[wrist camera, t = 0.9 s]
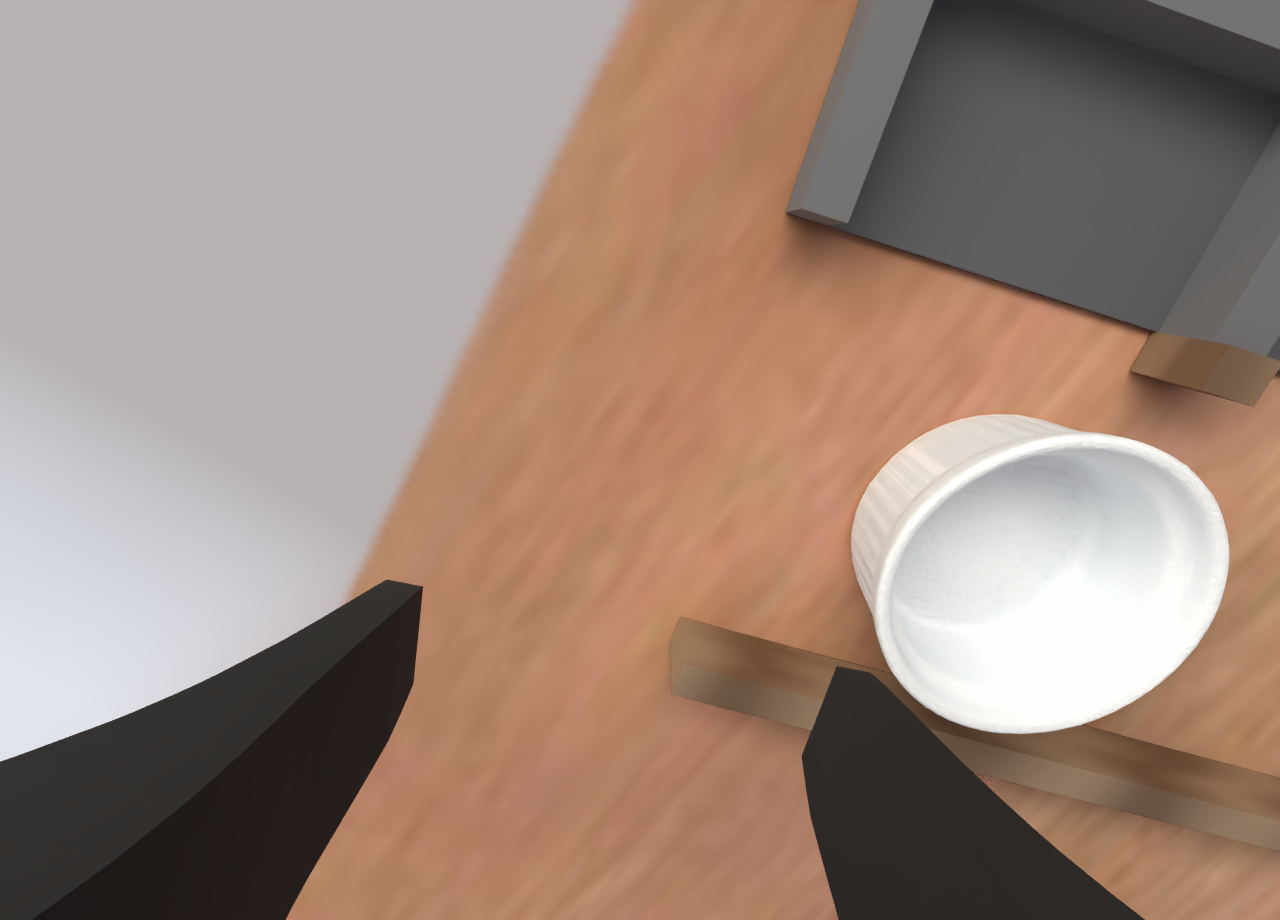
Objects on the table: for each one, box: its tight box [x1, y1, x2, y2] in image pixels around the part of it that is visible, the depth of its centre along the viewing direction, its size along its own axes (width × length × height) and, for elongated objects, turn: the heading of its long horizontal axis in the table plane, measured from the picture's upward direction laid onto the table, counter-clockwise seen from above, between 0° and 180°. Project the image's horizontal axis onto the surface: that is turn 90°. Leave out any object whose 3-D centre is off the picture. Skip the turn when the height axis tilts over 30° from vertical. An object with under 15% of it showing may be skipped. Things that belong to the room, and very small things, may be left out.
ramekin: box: [851, 414, 1229, 734], centre depth 18 cm, size 9×9×4 cm
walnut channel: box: [670, 331, 1280, 852], centre depth 19 cm, size 34×14×4 cm, turn 74°
